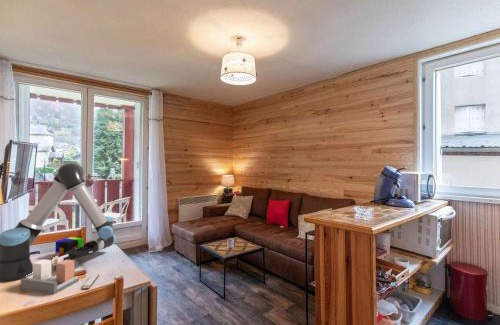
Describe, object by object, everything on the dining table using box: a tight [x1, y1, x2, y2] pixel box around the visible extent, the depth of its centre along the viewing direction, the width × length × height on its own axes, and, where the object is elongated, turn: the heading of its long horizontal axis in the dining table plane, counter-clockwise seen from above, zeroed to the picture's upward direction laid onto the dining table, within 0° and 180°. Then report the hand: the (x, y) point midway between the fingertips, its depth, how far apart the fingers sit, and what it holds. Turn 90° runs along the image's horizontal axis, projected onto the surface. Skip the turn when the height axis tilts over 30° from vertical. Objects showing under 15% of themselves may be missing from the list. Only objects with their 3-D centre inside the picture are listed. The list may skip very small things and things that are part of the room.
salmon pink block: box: [55, 259, 76, 283], centre depth 123 cm, size 6×5×9 cm
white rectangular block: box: [31, 258, 53, 280], centre depth 123 cm, size 6×5×9 cm
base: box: [20, 274, 80, 295], centre depth 122 cm, size 13×18×5 cm
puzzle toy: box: [54, 236, 84, 257], centre depth 159 cm, size 10×10×10 cm
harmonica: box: [81, 273, 100, 291], centre depth 125 cm, size 15×3×2 cm, turn 14°
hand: (56, 261), depth 130 cm, fingers closed
